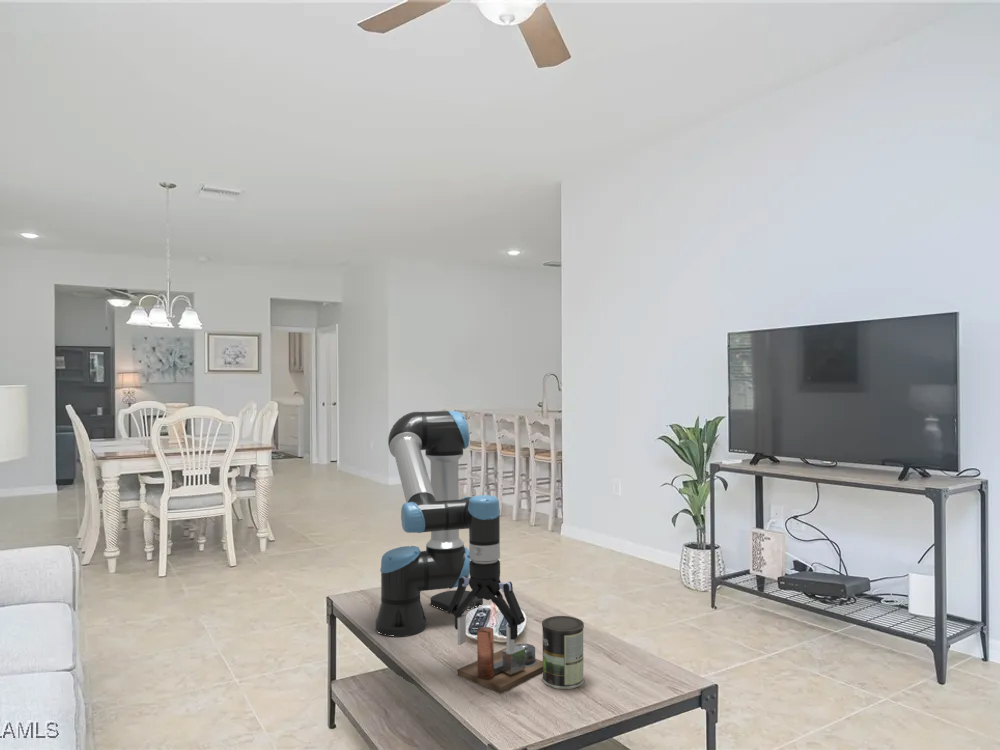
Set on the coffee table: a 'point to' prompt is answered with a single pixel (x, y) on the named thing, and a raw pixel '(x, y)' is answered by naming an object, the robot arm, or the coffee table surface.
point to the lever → (509, 661)
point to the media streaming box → (446, 597)
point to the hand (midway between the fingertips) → (485, 647)
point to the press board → (501, 675)
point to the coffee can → (563, 652)
